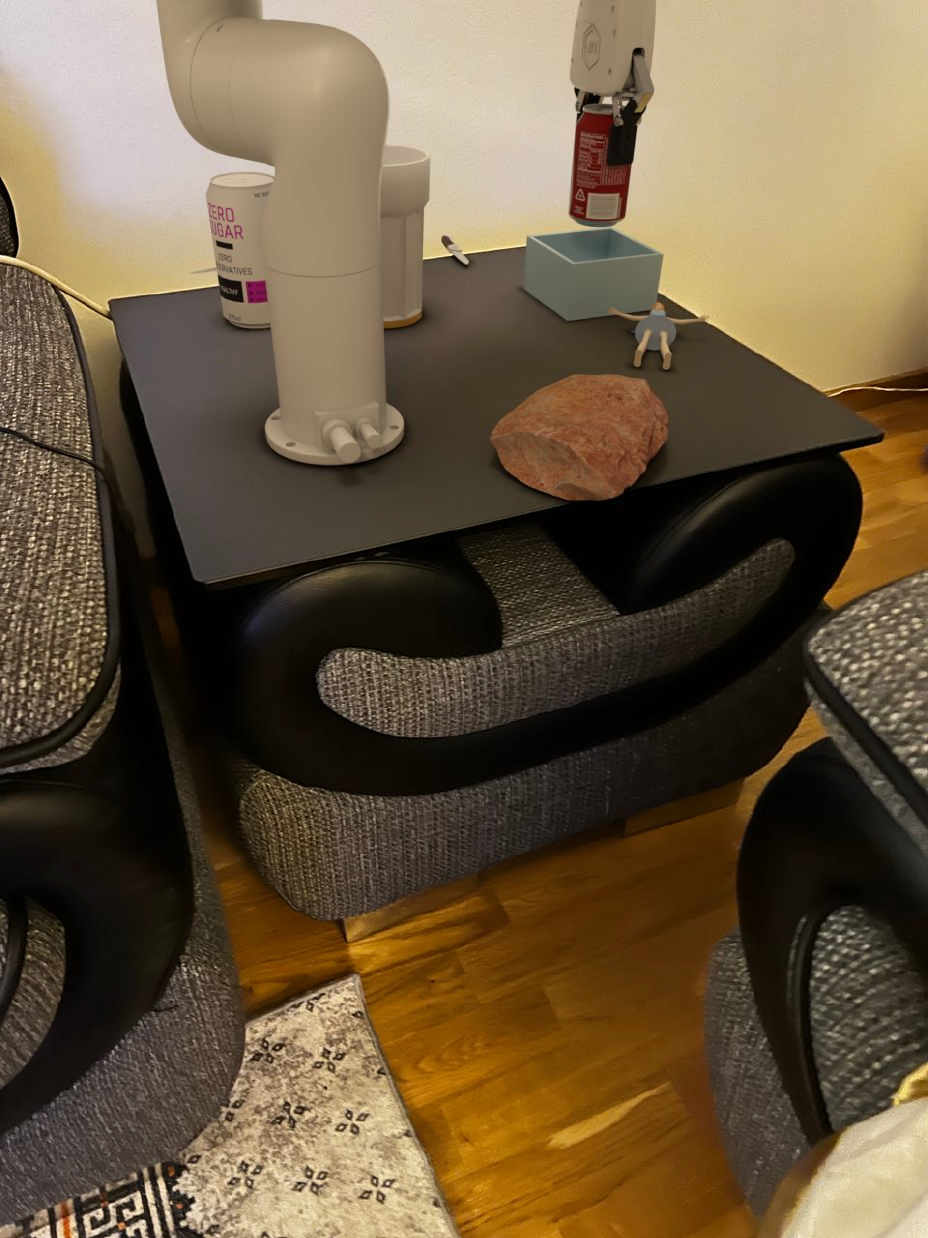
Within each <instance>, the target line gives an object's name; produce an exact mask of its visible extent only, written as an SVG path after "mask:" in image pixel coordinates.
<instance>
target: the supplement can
mask: <svg viewBox="0 0 928 1238" xmlns="http://www.w3.org/2000/svg"><path fill="white" fill-rule="evenodd" d="M274 176H275V175H272V174H270V173H266V172H261V171H260V172H258V171H233V172H225V173H219V174H216V175H213V176H212V177H210V178H209V183H208V186H207V189H206V191H205V199H206V206H207V214H208V220H209V226H210V231H211V232H210V233H211V234H210V235H211V241H212V246H213V254H214V260H215V261H214V262H215V268H217V271H216V275H217V282H218V288H219V289H218V290H219V294H220V299H221V300H220V301H221V309H222V315H223V317H224V318H225V319H227V320H228V321H229V323H230V324H232V325H234V326H237V327H239V328H245V329H267V328H271V325H270V316H269V307H268V298H267V290H266V281H265V272H264V263H263V258H262V248H261V220H262V214H263V210H264V207H265V203H266V200H267V198H268V195H269V192H270V189H271V187H272V183H273V180H274Z"/></svg>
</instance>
